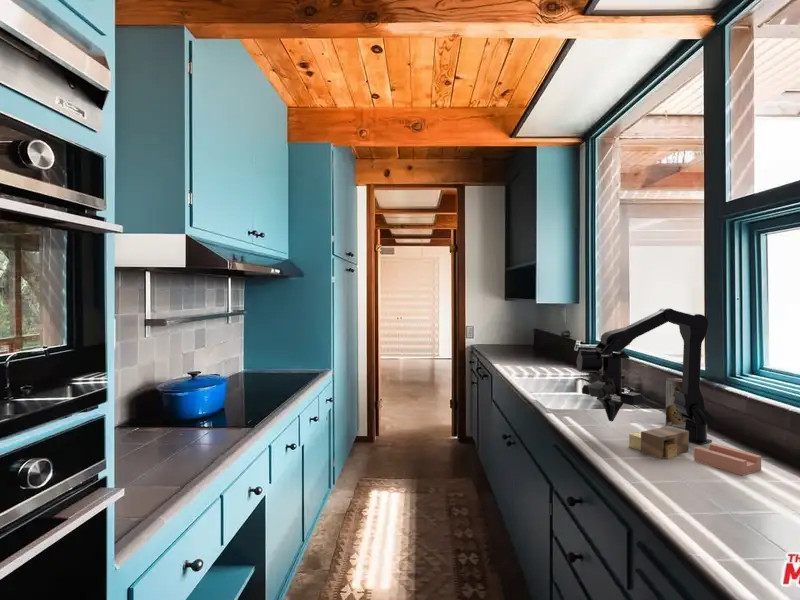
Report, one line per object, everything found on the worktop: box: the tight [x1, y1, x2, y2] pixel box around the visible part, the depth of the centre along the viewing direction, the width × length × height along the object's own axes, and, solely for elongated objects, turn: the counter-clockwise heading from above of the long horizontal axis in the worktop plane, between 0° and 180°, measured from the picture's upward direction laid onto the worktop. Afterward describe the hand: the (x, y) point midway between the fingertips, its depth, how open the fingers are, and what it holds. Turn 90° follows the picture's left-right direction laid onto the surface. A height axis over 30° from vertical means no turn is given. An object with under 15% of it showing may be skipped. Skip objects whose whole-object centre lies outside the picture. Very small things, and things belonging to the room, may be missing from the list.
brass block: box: [628, 432, 678, 460], centre depth 138 cm, size 12×4×4 cm, turn 28°
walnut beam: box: [640, 426, 690, 460], centre depth 138 cm, size 13×6×6 cm, turn 119°
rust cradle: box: [693, 442, 762, 476], centre depth 128 cm, size 9×12×4 cm
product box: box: [664, 377, 686, 429], centre depth 165 cm, size 9×6×16 cm
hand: (611, 421), depth 150 cm, fingers closed
